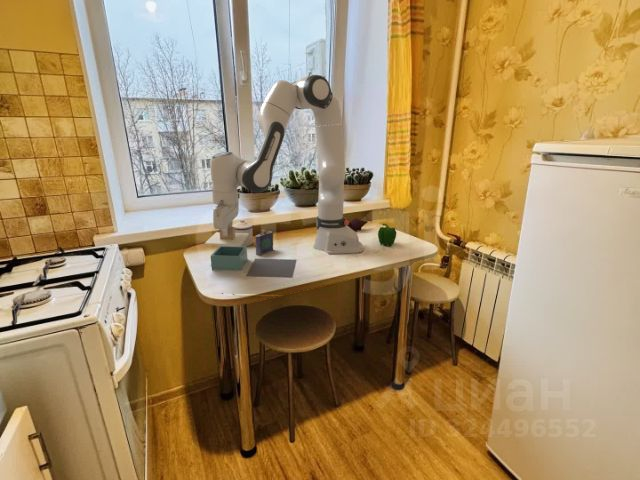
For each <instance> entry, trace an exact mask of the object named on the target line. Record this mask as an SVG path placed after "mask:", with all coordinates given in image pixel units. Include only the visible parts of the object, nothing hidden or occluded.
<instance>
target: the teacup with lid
mask: <svg viewBox="0 0 640 480" xmlns="http://www.w3.org/2000/svg"><path fill="white" fill-rule="evenodd" d="M232 227H235V233H249V236H248V237H247V238H246V240H245V241H244V242H243V244H242V245H241V246H246V247H247V248H248V247H250V246H253V244H254V236H253V235H254V234H253V228H254V226H253V224H252V223H251V222H248V221H246V220H245V219H243V218H242V219H240V220H239V221H238V222H236V223H234V224H232Z"/></svg>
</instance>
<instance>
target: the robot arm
mask: <svg viewBox="0 0 640 480" xmlns="http://www.w3.org/2000/svg"><path fill="white" fill-rule="evenodd" d="M295 109H297V110H310V109H311V111H312V113H313V116H314V126H315V127H314V128H315V139H316V141H315V142H316V155H317V172H318V199H317V200H318V201H317V203H318V204H317V205H318V208H317V217H316V237H315V242H314V244H313V248H314V249H316V250H318V251H321V252H324V253H326V254H328V255H340V254H342V255H343V254H360V253H359V252H361V253H362V252H364V244H363V243H362V242H361V241H360V240H359V236H358V233H357V231H353V230H352V229H351V228H350V227H348V226H347V225H348V224H349V222H350V221H349V220H348V219H347V217H344V203H345V202H344V201H345V200H344V198H345V196H344V193H345V192H344V191H345V189H344V188H345V187H344V186H345V179H346V164H345V151H344V137H343V136H344V135H343V133H344V132H343V120H342V119H343V118H342V111H341V107H340V102H339V100H338V99H337V98H336V97H335V96H333V92H332V88H331V85H330V82H329V80H328V79H327V78H326V77H324V76H323V75H319V74H313V75H310V76H305V77H302V78H299V79H298V80H296V81H294V82H292V83H291V82H289V81H288V80H278V81H276V82H275V83H274V84H273V85H272V87H271V88H270V90H269V91H268V93H267V94H266V96H265V97H264V101H263V102H262V104H261V107H260V108H259V112H258V115H257V123H258V126H259V128H260V130H261V131H262V133H263V141H262V144H261V146H260V149H259V151H258V153H257V154H258V155H257V157H256V159H255V160H254V161H249V160H246V159H244V158H242V157H239V156H238V155H236V154H235V153H233V152H231V151H223V152H218V153H216V154H214V155H213V156H212V157H211V161H210V176H211V181H212V189H211V191H212V203H213V204H214V205H216V206H215V207H214V208H213V214H212V217H213V218H212V222H213V224H212V225H213V228H214V229H215V230H219V229H222V231H223V236H228V234H229V231H228V228H227V227H232V226H233V225H234V224H233V223H234V220H235V219H236V218H237V217H238V215H239V210H240V209H239V204H240V202H239V199H240V198H241V197H240V196H241V195H240V192H238V188H239V187H242V188H245V189H247V190H248V191H250V192H252V193H255V194H260V193H263V192H265V191H266V190H268V189H269V187H270V186H271V184H272V181H273V171H274V167H275V163H276V160H277V158H278V155H279V152H280V150H281V147H282V144H283V141H284V137H285V132H286V131H285V130H286V129H287V126H288V123H289V121H290V119H291V117H292V114H293V112H294V111H295Z"/></svg>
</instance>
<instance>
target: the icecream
mask: <svg viewBox="0 0 640 480" xmlns="http://www.w3.org/2000/svg"><path fill="white" fill-rule="evenodd" d="M348 222H349V224H348V225H347V226H348V227H350V228H351V229H352V230H353V231H355V232H357V231H358V230H359V231H361V230H362V227H364V226H365V225H366V224H367V223H368V220H361V219H359V218H358V217H355V218H353V219H351V220H350V221H348ZM359 231H358V232H359Z"/></svg>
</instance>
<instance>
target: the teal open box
mask: <svg viewBox="0 0 640 480" xmlns="http://www.w3.org/2000/svg"><path fill="white" fill-rule="evenodd" d="M247 261H248V246H247V247H246V246H241V247H239V246H218V247H217V248H216V249H215V250H214V251H213V253H211V254H210V263H211V264H210V265H211V271H212V272H213V271H214V270H217V271H219V270H221V271H223V270H224V271H242V269H243V267H244V266H245V264H246V263H247Z"/></svg>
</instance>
